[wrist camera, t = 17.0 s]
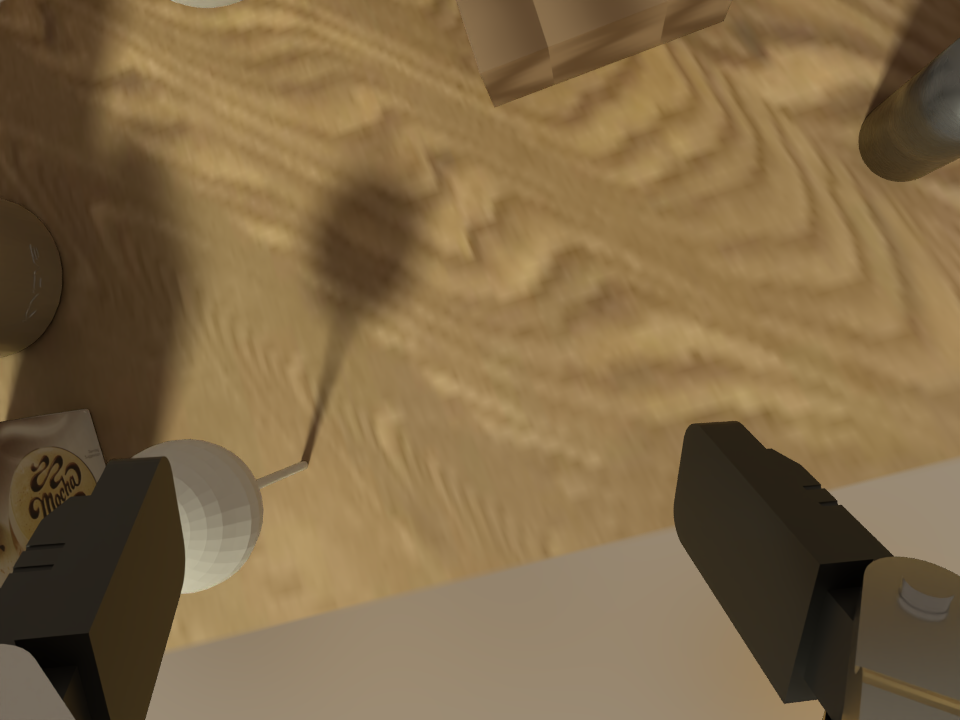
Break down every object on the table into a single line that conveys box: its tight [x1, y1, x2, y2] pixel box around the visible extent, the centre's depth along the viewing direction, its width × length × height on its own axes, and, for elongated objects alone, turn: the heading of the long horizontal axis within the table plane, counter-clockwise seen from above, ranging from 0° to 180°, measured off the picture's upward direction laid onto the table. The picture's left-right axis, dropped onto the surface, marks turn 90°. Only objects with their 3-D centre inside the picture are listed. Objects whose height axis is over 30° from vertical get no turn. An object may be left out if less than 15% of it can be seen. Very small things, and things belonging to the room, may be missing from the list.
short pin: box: [859, 38, 960, 182], centre depth 32 cm, size 4×4×9 cm
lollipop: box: [132, 439, 308, 594], centre depth 34 cm, size 6×6×15 cm
